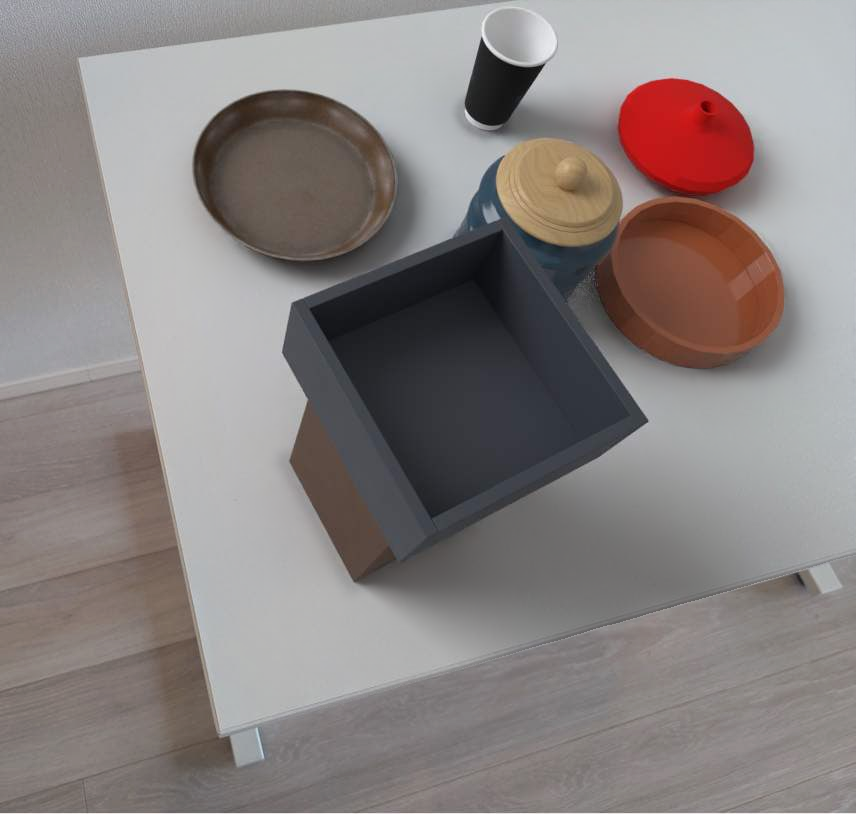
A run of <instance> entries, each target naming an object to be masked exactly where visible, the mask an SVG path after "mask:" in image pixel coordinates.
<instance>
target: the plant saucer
mask: <svg viewBox="0 0 856 814" xmlns="http://www.w3.org/2000/svg"><path fill="white" fill-rule="evenodd" d="M191 174H192V181H193V185H194V189H195V192H196V195H197V198H198V200H199V201H200V203H201V205H202V207H203V208H204V210H205V212H206V213H207V215H208V216H209V217H210V219H211V220H212V221H213V222H214V223H215V224H216V225H217V226H218V227H219V228H220V229H221V231H223V232H224V233H226V234H227V235H228V236H229V237H230V238H232V239H233V240H234V241H235V242H237V243H239V244H241V245H242V246H244V247H246V248H248V249H250V250H251V251H254V252H256V253H259V254H261V255H264V256H267V257H270V258H274V259H277V260H284V261H292V262H314V261H321V260H322V261H323V260H327V259H331V258H335V257H338V256H342V255H345V254H347V253H349V252H351V251H354V250H355V249H357V248H359V247H361V246H362V245H364V244H365V243H367V242H368V241H369V240H371V239H372V238H373V237H374V236H375V235H376V234H378V233H379V231H380V230H381V229H382V228H383V226H384V225H385V223H386V222H387V221H388V219H389V218H390V215H391V214H392V211H393V210H394V206H395V203H396V200H397V195H398V187H399V186H398V185H399V183H398V182H399V180H398V171H397V166H396V161H395V158H394V157H393V154H392V151H391V150H390V147H389V145H388V144H387V142H386V140H385V139H384V137H383V136H382V135H381V133H380V132H379V131H378V130H377V128H376V127H375V126H374V125H373V124H372V123H371V122H370V121H368V119H367V118H366V117H364V116H363V115H362V114H361V113H359V112H358V111H356V110H355V109H353V108H352V107H350V106H349V105H347V104H345V103H343V102H341V101H339V100H336V99H335V98H332V97H329V96H327V95H323V94H320V93H316V92H312V91H308V90H300V89H285V88H284V89H283V88H282V89H280V88H279V89H270V90H269V89H268V90H263V91H258V92H257V91H256V92H255V93H250V94H248V95H245V96H243V97H240V98H238V99H236V100H234V101H231V102H230V103H229V104H227V105H225V106H224V107H223V108H221V109H220V110H218V111H217V112H216V113H215V114H214V115H213V116H212V117H211V118H210V119H209V120H208V121H207V123H206V124H205V126H204V127H203V129H202V130H201V132H200V133H199V135H198V138H197V140H196V143H195V145H194V148H193V152H192V158H191Z"/></svg>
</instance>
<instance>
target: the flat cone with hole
mask: <svg viewBox="0 0 856 814" xmlns="http://www.w3.org/2000/svg"><path fill="white" fill-rule="evenodd" d="M617 133H618V139H619V142H620V145H621V147H622V149H623V151H624V153H625V155H626V157H627V158H628V159H629V160H630V162H631V163H632V164H633V166H634V167H635V168H636V169H637V170H638V171H639V172H641V173H642V174H643V176H645V177H647V178H648V179H649V180H651V181H652V182H654V183H656V184H658V185H659V186H661V187H663V188H665V189H667V190H669V191H673V192H675V193H676V192H677V193H680V194H683V195H687V196H688V195H689V196H697V197H698V196H699V197H703V196H709V195H716V194H719V193H722V192H723V191H726V190H727V189H730V188H732V187H733V186H736V185H738V184H740V183H741V182H742V181H743V180H744V179H745V178H746V177H747V175H748V174H749V173H750V170H751V168H752V167H753V164H754V161H755V145H754V144H755V143H754V139H753V135H752V131H751V127H750V126H749V124H748V122H747V120H746V119H745V117H744V115H743V114H742V112H740V110H739V109H738V108H737V106H735V104H733V103H732V102H731V100H729V99H728V98H727V97H725V96H724V95H722V93H720V92H719V91H717V90H714V89H713V88H711V87H709V86H707V85H705V84H703V83H699V82H696V81H693V80H690V79H684V78H674V77H669V78H661V79H654V80H650V81H647V82H645V83H643V84H640V85H637V86H636V87H635V88H634V89H633V90H632V91H630V92H629V93H628V94H627V95H626V96H625V98H624V100H623V102H622V104H621V106H620V110H619V115H618V121H617Z"/></svg>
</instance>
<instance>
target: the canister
mask: <svg viewBox="0 0 856 814" xmlns="http://www.w3.org/2000/svg"><path fill="white" fill-rule="evenodd" d="M623 207H624V199H623V193H622V190H621V186H620V184H619V182H618V179H617V177H616V176H615V174H614V172H613V171H612V170H611V169H610V168H609V166H608V165H607V164H606V163H605V162H604V161H603V160H602V159H601V157H599V156H597V154H595V153H593V152H592V151H591V150H589V149H587V148H586V147H584V146H581V145H580V144H577V143H574V142H572V141H568V140H565V139H562V138H554V137H539V138H533V139H529V140H525V141H523V142H520V143H518V144H517V145H515V146H514V147H512V148H511V149H510V150H509V151H508V152H507V153H506V154H504V155H502V156H500V157H498V158H497V159H496V160H495V161H493V162H492V163H491V165H490V166H488V168H486V170H485V172H484V174H483V175H482V177H481V180H480V183H479V187H478V189H477V191H476V192H475V193H474V194H473V196H472V198H471V199H470V202H469V205H468V208H467V212H466V214H465V216H464V218H463V220H462V222H461V225H460V226H459V227H458V228H457V230H456V231H455V232H454V234H453V236H452V238H454V237H456V236H459V235H461V234H464V233H466V232H469V231H471V230H474V229H476V228H479V227H481V226H484V225H486V224H489V223H491V222H494V221H497V220H499V219H501V218H504V217H507V218H508V219H509V221H510V222H511V224H512V225H513V227H514V228H515V230H516V231H517V232H518V234H519V235H520V237H521V238H522V240H523V241H524V242H525V244H526V245H527V247H528V248H529V250H530V251H531V252H532V254H533V255H534V257H535V258H536V260H537V261H538V262H539V264H540V265H541V267H542V268H543V270H544V271H545V273H546V274H547V275H548V277H549V278H550V280H551V281H552V283H553V284H554V285H555V287H556V288H557V290H558V291H559V293H560V294H561V295H562V297H563V298H564V300H565V301H566V303H567V302H568V300H569V299H570V297H571V295H572V294H573V292H574V291H575V289H577V287H578V286H579V284H580V283H582V281H583V280H585V279H586V278H587V277H589V275H590V274H591V273H592V272H593V271H594V269H596V265H597V262H598V260H600V259H601V258H602V257H604V256H605V255H606V254H607V253H608V251H609V250H610V249H611V247H612V246H613V244H614V242H615V240H616V237H617V234H618V229H619V222H620V221H621V217H622V214H623V209H624V208H623Z"/></svg>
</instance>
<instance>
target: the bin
mask: <svg viewBox="0 0 856 814" xmlns="http://www.w3.org/2000/svg"><path fill="white" fill-rule="evenodd" d="M287 319H288V320H287V324H286V329H285V334H284V339H283V345H282V350H281V354H282V356H283V358H284V359H285V361H286V363H287V365H288V367H289V368H290V371H291V372H292V374H293V376H294V377H295V379H296V381H297V383H298V384H299V386H300V388H301V390H302V391H303V393H304V396H305V397H306V399H307V401H306V404H305V407H304V411H303V414H302V417H301V421H300V424H299V428H298V431H297V434H296V438H295V440H294V443H293V448H292V451H291V454H290V457H289V460H288V461H289V462H288V463H289V464H290V466H291V468H292V469H293V471H294V473H295V475H296V477H297V479H298V480H299V483H300V485H301V486H302V488H303V490H304V492H305V494H306V495H307V497H308V499H309V501H310V503H311V505H312V507H313V509H314V511H315V512H316V514H317V517H318V518H319V520H320V522H321V524H322V526H323V528H324V530H325V531H326V533H327V535H328V537H329V538H330V540H331V542H332V544H333V546H334V548H335V549H336V552H337V554H338V555H339V557H340V559H341V561H342V563H343V565H344V567H345V569H346V570H347V572H348V574H349V576H350V578H351V580H352V581H353V583H355V582H357V581H359V580H361V579H362V578H365V577H366V576H368V575H371V574H372V573H375V572H376V571H378V570H380V569H382V568H383V567H385V566H387V565H390V564H391V563H393V562H395V561H397V562H398V563H399V564H401V563H403V562H405V561H406V560H409V559H410V558H412V557H415V556H416V555H418V554H420V553H421V552H424V551H425V550H428V549H429V548H432V547H433V546H434V545H436V544H438V543H441V542H442V541H444V540H446V539H448V538H450V537H451V536H454V535H455V534H457V533H459V532H461V531H463V530H465V529H467V528H469V527H470V526H472V525H475V524H476V523H478V522H480V521H482V520H484V519H485V518H488V517H489V516H491V515H493V514H495V513H497V512H499V511H500V510H502V509H504V508H507V507H508V506H510V505H512V504H514V503H515V502H518V501H519V500H521V499H524V498H525V497H527V496H529V495H531V494H532V493H534V492H537V491H538V490H540V489H542V488H544V487H546V486H548V485H550V484H552V483H554V482H555V481H557V480H559V479H561V478H563V477H565V476H566V475H569V474H570V473H573V472H575V471H576V470H578V469H580V468H581V467H583V466H585V465H587V464H589V463H591V462H593V461H596V460H597V459H598V458H600V457H601V456H603V455H604V454H605V453H607V452H609V451H610V450H611V449H613V448H614V447H615V446H617V445H618V444H619V443H621V442H622V441H624V440H625V439H627V438H628V437H630V436H631V435H633V434H634V433H635V432H636V431H638V430H639V429H641V428H642V427H643V426H645V425H646V424H648V423H649V422H650V421H649V418H648V417H647V416H646V414H645V413H644V412H643V410H642V409H641V407H640V406H639V405H638V403H637V402H636V400H635V399H634V397H633V396H632V394H631V393H630V391H629V390H628V389H627V387H626V386H625V384H624V383H623V382H622V380H621V378H620V377H619V376H618V374H617V373H616V372H615V370H614V369H613V367H612V366H611V364H610V363H609V361H608V359H606V357H605V356H604V354H603V353H602V351H601V350H600V348H599V347H598V346H597V344H596V342H595V341H594V340H593V338H592V337H591V335H590V334H589V332H588V331H587V330H586V329H585V327H584V326H583V324H582V323H581V321H580V320H579V319H578V317H577V315H576V314H575V313H574V311H573V309H572V308H571V307H570V305H569V304H568V303H567V302H566V301H565V300H564V298H563V297H562V295H561V294H560V293H559V291H558V290H557V288H556V287H555V285H554V284H553V283H552V281H551V280H550V278H549V277H548V275H547V274H546V273H545V271H544V270H543V268H542V267H541V265H540V264H539V262H538V261H537V260H536V258H535V257H534V255H533V254H532V252H531V251H530V250H529V248H528V247H527V245H526V244H525V242H524V241H523V240H522V238H521V237H520V235H519V234H518V232H517V231H516V230H515V228H514V227H513V225H512V224H511V222H510V221H509V219H508V218H507V217H504V218H501V219H499V220H497V221H494V222H491V223H489V224H486V225H484V226H481V227H479V228H476V229H474V230H471V231H469V232H466V233H464V234H461V235H459V236H456V237H454V238H453V237H451V238H449V239H446V240H444V241H442V242H439V243H436V244H434V245H432V246H429V247H426V248H424V249H421V250H419V251H417V252H414V253H412V254H409V255H406V256H404V257H402V258H400V259H397V260H393V261H392V262H388V263H387V264H384V265H381V266H379V267H377V268H375V269H371V270H369V271H367V272H364V273H361V274H359V275H357V276H353V277H352V278H350V279H347V280H344V281H342V282H339V283H337V284H335V285H334V284H333V285H332V286H330V287H326V288H325V289H322V290H319V291H317V292H315V293H312V294H309V295H307V296H304V297H303V298H300V299H298V300H294V301H292V302H291V304H290V309H289V314H288V318H287Z"/></svg>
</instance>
